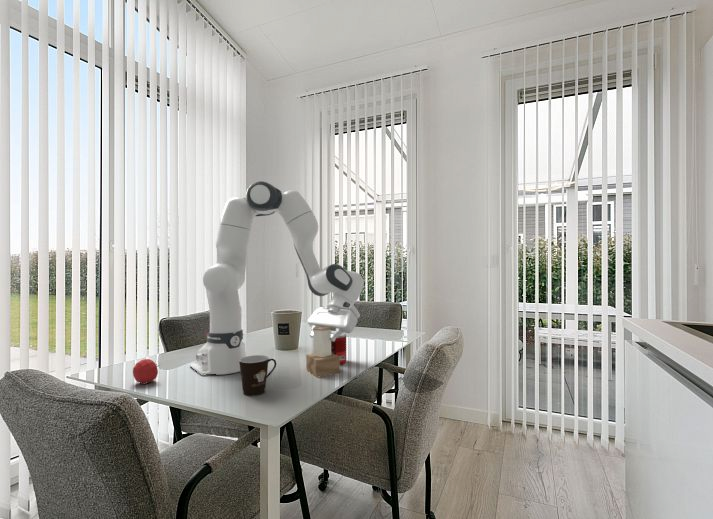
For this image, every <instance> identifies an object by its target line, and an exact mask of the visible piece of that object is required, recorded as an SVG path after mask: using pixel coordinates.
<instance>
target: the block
mask: <svg viewBox="0 0 713 519" xmlns="http://www.w3.org/2000/svg"><path fill="white" fill-rule="evenodd" d="M305 357H306V358H305V360H306V363H305V364H306V368H305V370H307V371H306V372H308V373H309V372H310V373H309V374H311V375H312V374H313V375H312V376H314V377H315V378H319V376H321V377H326V376H330V374H332V375H337V373H338V374H340V370H341V365H340V357H339V356H337V355H335V354H333V353H331V355H330V356H326V357H317V356H313V353H309V354H305ZM325 375H326V376H325Z"/></svg>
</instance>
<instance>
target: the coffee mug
mask: <svg viewBox="0 0 713 519" xmlns="http://www.w3.org/2000/svg"><path fill="white" fill-rule="evenodd" d="M271 361H273V363H274V365H273V367H272V369H271V371H269V373H268V370H269V369H268V367H269V363H270V362H271ZM239 364H240V371H239V373H240V377H241V378H240V379H241V386H242V393H243V395H244V396H245V397H257V396H260V395H263V394H264V393H265V392H266V386H267V379H268V378H269V377H270V375H271V374H273V373H274V370H275V369H276V367H277V360H276V359H275V358H269V356H267V355H263V354H262V355H259V354H256V355H255V354H254V355H246V357H243V358H241V359H239Z"/></svg>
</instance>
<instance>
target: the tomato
mask: <svg viewBox="0 0 713 519" xmlns="http://www.w3.org/2000/svg"><path fill="white" fill-rule="evenodd" d="M158 367H160V365H159V364H157V363H156V362H155V361H154V360H152V359H150V358H144V359H141V360H140V361H138V362H137V363H135V365H134V367H133V368H132V375H133V378H134V380H135V381H136V382H137V383H139V382H140V383H139V384H143V383H146V382H150V383H152V382H153V381H154V380H156V379H157V377H158V373H159V370H158ZM151 381H152V382H151ZM146 384H147V383H146Z"/></svg>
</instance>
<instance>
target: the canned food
mask: <svg viewBox="0 0 713 519" xmlns="http://www.w3.org/2000/svg"><path fill="white" fill-rule="evenodd" d="M334 333H335V332H331V335H333V334H334ZM331 353H333V354H335V355H337V356H339V357H340V364H341V365H344V364H346V362H347V333H343V332H342V334H341V335H340V336H339V337H337V338H336V340H335V341H331Z"/></svg>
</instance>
